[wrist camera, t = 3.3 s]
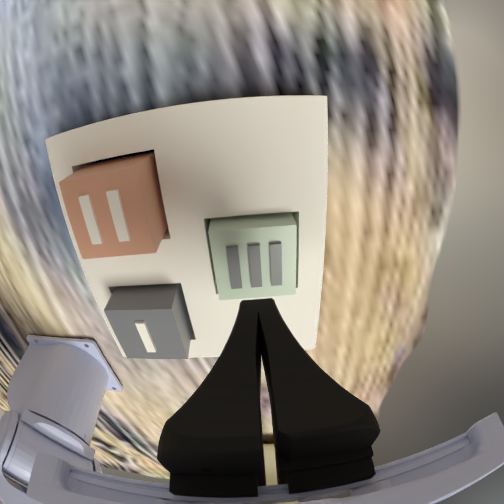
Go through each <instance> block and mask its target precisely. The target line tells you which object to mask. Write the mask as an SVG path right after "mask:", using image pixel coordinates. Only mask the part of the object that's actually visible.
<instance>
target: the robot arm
mask: <svg viewBox="0 0 504 504" xmlns="http://www.w3.org/2000/svg"><path fill="white" fill-rule="evenodd" d="M26 339H27V341H28V342H29V346H28V348H27V350H26V351H25V353H24V355H23V357H22V359H21V361H20V363H19V364H18V366H17V368H16V370H15V372H14V374H13V376H12V378H11V380H10V383H9V386H8V394H7V396H8V404H9V407H10V409H11V411H6V412H5V413H4V415H3V416H2V418H1V420H0V500H1V502H2V503H3V504H276V503H286V502H295V501H302V500H309V499H315V498H322V497H327V496H332V495H337V494H342V493H346V492H350V493H349V497H345V498H339V499H337V498H334V499H333V498H332V499H323V500H315V501H308V502H301V503H293V504H435V503H437V502H439V501H441V500H443V499H446V498H448V497H450V496H451V495H454V494H455V493H457V492H459V491H461V490H463V489H465V488H467V487H468V486H470V485H472V484H474V483H475V482H477V481H479V480H480V479H482V478H484V477H485V476H487V475H488V474H490V473H491V472H493V471H495V470H496V469H497V468H499V467H500V466H502V465H503V464H504V427H503V425H502V423H501V420H500V418H499V416H498V414H497V413H496V412H495V413H493V414H491V415H489V416H487V417H486V418H484V419H482V420H480V421H478V422H477V423H475V424H474V425H473V426H472V427H471V428H470V429H469V430H468V431H467V432H466V433H464V434H462V435H460V436H458V437H456V438H454V439H451V440H449V441H447V442H444V443H442V444H440V445H437V446H435V447H432V448H430V449H427V450H425V451H422V452H420V453H417V454H414V455H411V456H408V457H406V458H403V459H400V460H396V461H394V462H390V463H387V464H384V465H380V466H376V467H374V465H373V461H372V456H373V450H372V447H371V445H372V444H373V443H374V441H375V440H376V438H377V437H378V435H379V433H380V429H379V425H378V422H377V420H376V418H375V416H374V414H373V412H372V410H371V408H370V407H369V405H367V404H366V403H364V402H363V401H361V400H360V399H358V398H357V397H355V396H354V395H352V394H351V393H349V392H348V391H347V390H345V389H344V388H343V387H342V386H340V385H339V384H338V383H337V382H336V381H334V380H333V379H332V378H331V377H330V376H329V375H328V374H326V373H325V372H324V371H323V370H322V369H321V368H320V367H319V366H318V365H317V364H316V363H315V362H314V361H313V359H312V358H311V357H310V356H309V355H308V354H307V353H306V351H305V350H304V349H303V348H302V346H301V345H300V344H299V342H298V341H297V340H296V338H295V337H294V336H293V334H292V333H291V331H290V329H289V328H288V326H287V325H286V323H285V321H284V320H283V318H282V316H281V314H280V312H279V310H278V308H277V306H276V304H275V301H274V299H272V298H266V299H253V300H242V301H241V302H240V306H239V310H238V314H237V317H236V320H235V323H234V326H233V329H232V331H231V334H230V336H229V338H228V340H227V342H226V344H225V346H224V349H223V351H222V353H221V354H220V356H219V358H218V360H217V361H216V363H215V365H214V366H213V368H212V370H211V371H210V373H209V374H208V375H207V377H206V378H205V380H204V381H203V382H202V384H201V385H200V386H199V388H198V389H197V390H196V391H195V392H194V394H193V395H192V396H191V397H190V398H189V399H188V400H187V402H186V403H185V404H184V405H183V406H182V407H181V408H180V409H179V410H178V411H177V412H176V413H175V414H174V415H173V416H171V417H170V418H169V419H168V420H167V421H166V423H165V425H164V427H163V430H162V433H161V436H160V440H159V445H158V454H157V459H158V461H159V462H160V463H161V464H162V465H163V466H164V467H165V468H166V469H167V470H168V471H169V472H170V484H161V483H153V482H146V481H140V480H133V479H128V478H122V477H117V476H112V475H108V474H103V473H102V470H101V467H100V464H99V462H98V460H97V459H96V458H94V454H95V449H93V448H91V447H90V443H91V439H92V435H93V431H94V428H95V424H96V421H97V417H98V414H99V410H100V407H101V403H102V400H103V397H104V393H105V390H112V391H122V390H123V386H122V385H121V383H120V382H119V380H118V379H117V377H116V376H115V374H114V373H113V371H112V369H111V368H110V366H109V364H108V363H107V361H106V360H105V358H104V356H103V354H102V353H101V351H100V349H99V348H98V346H97V344H96V343H95V342H94V341H93V340H89V339H72V338H58V337H47V336H36V335H28V336H27V337H26ZM261 355H262V361H263V366H264V371H265V376H266V382H267V387H268V392H269V397H270V404H271V414H272V425H273V436H274V448H275V460H276V472H277V484H278V485H269V486H266V473H265V461H264V448H263V435H262V422H261V408H260V385H261ZM3 472H4V473H6V474H7V475H9V476H10V477H12V478H14V479H15V480H17V481H19V482H21V483H22V484H24V485H26V486H28V488H26V487H24V486H22V485H20V484H18V483H16V482H15V481H13V480H12V479H10V478H9V477H7V476H6V475H5V474H4V473H3ZM351 491H352V492H351Z"/></svg>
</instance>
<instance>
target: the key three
mask: <svg viewBox="0 0 504 504" xmlns="http://www.w3.org/2000/svg"><path fill="white" fill-rule="evenodd" d="M208 233H209V240H210V246H211V253H212V259H213V265H214V271H215V277H216V283H217V289H218V295H219V300H230V299H244V298H258V297H270V296H282V295H293V294H296V248H297V225H296V222H295V220H294V217H293V215H292V212H282V213H267V214H254V215H241V216H229V217H217V218H211V221H210V226H209V231H208Z"/></svg>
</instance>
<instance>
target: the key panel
mask: <svg viewBox="0 0 504 504" xmlns="http://www.w3.org/2000/svg"><path fill="white" fill-rule="evenodd" d="M45 141H46V146H47V151H48V156H49V161H50V165H51V170H52V174H53V178H54V182H55V186H56V190H57V193H58V197H59V201H60V204H61V208H62V211H63V214H64V218H65V221H66V224H67V227H68V230H69V233H70V236H71V239H72V242H73V245H74V248H75V250H76V253H77V256H78V259H79V261H80V264H81V266H82V269H83V272H84V274H85V277H86V279H87V281H88V284H89V286H90V289H91V291H92V293H93V296H94V298H95V300H96V302H97V305H98V307H99V309H100V311H101V313H102V315H103V318H104V320H105V322H106V324H107V326H108V328H109V330H110V332H111V334H112V336H113V338H114V340H115V342H116V344H117V346H118V348H119V349H120V351H121V353H122V355H123V357H127V356H126V355H125V353H124V351H123V349H122V347H121V345H120V343H119V341H118V339H117V337H116V335H115V333H114V331H113V329H112V327H111V325H110V323H109V321H108V319H107V316H106V314H105V312H104V309H105V307H106V305H107V303H108V301H109V299H110V297H111V295H112V293H113V291H114V289H115V287H116V286H134V285H153V284H171V283H181V285H182V289H183V293H184V297H185V301H186V305H187V309H188V312H189V316H190V320H191V323H192V327H193V328H192V334H191V341H190V347H189V354H188V358H194V357H219V356H220V354H221V353H222V351H223V349H224V346H225V344H226V342H227V340H228V338H229V336H230V334H231V331H232V329H233V326H234V323H235V320H236V317H237V314H238V310H239V306H240V302H241V301H242V300H253V299H266V298H272V299H274V301H275V304H276V306H277V308H278V310H279V312H280V314H281V316H282V318H283V320H284V321H285V323H286V325H287V326H288V328H289V329H290V331H291V333H292V334H293V336H294V337H295V338H296V340H297V341H298V342H299V344H300V345H301V346H302V348H303V349H304V350H309V349H315V345H316V337H317V328H318V319H319V310H320V299H321V288H322V277H323V263H324V249H325V232H326V210H327V177H328V115H327V96H318V95H281V96H257V97H242V98H230V99H220V100H210V101H202V102H195V103H187V104H181V105H174V106H168V107H163V108H157V109H152V110H147V111H142V112H137V113H132V114H128V115H124V116H119V117H115V118H111V119H107V120H103V121H99V122H96V123H92V124H89V125H85V126H82V127H78V128H75V129H72V130H69V131H66V132H63V133H60V134H57V135H54V136H51V137H49V138H46V139H45ZM153 149H154V152H155V159H156V165H157V171H158V176H159V182H160V188H161V193H162V199H163V204H164V209H165V214H166V219H167V224H168V228H167V230H166V232H165V234H164V236H163V239H162V241H161V243H160V245H159V247H158V249H157V252H156V253H151V254H139V255H127V256H115V257H104V258H92V259H82V256H81V253H80V251H79V248H78V245H77V242H76V239H75V236H74V233H73V230H72V227H71V224H70V221H69V218H68V214H67V211H66V208H65V204H64V201H63V197H62V193H61V189H60V186H59V182H60V181H61V180H63V179H64V178H66V177H68V176H69V175H71V174H72V173H74V172H76V171H77V170H79V169H81V168H82V167H84V166H86V165H91V164H93V162H92V161H97V160H101V159H106V158H111V157H115V156H120V155H125V154H131V153H136V152H142V151H147V150H153ZM282 212H292V215H293V217H294V220H295V222H296V225H297V248H296V294H293V295H282V296H270V297H258V298H244V299H230V300H219V295H218V289H217V283H216V277H215V271H214V265H213V259H212V253H211V246H210V240H209V233H208V231H209V226H210V221H211V219H210V218H217V217H229V216H241V215H254V214H267V213H282Z"/></svg>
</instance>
